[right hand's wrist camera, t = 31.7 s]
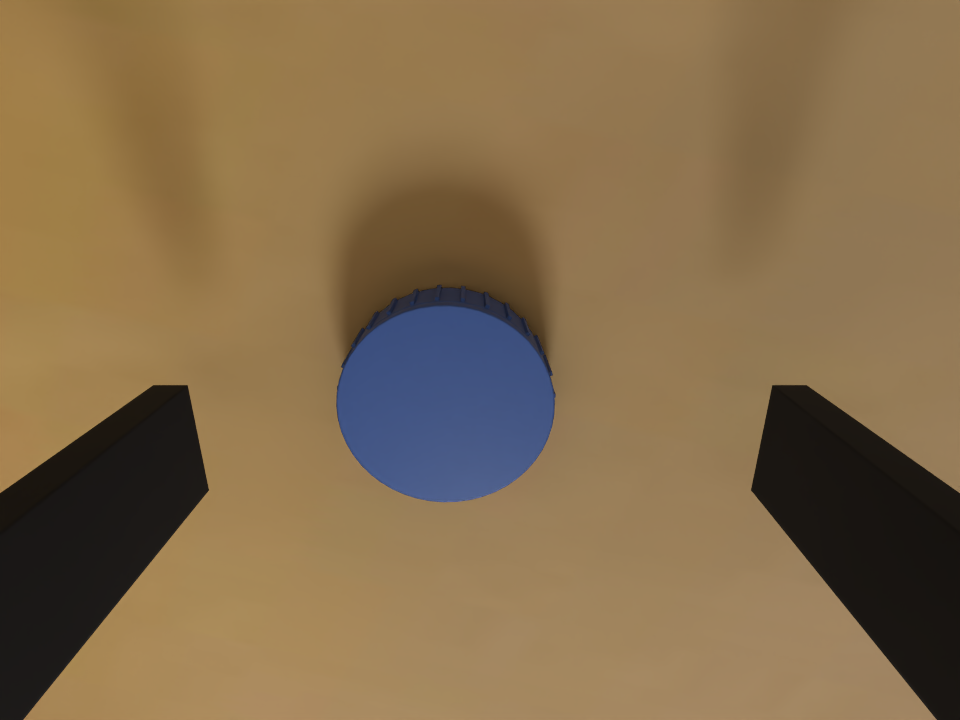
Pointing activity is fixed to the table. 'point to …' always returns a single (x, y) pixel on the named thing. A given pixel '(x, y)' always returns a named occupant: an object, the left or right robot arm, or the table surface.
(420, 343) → the lid
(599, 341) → the table surface
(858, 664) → the table surface
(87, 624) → the right robot arm
